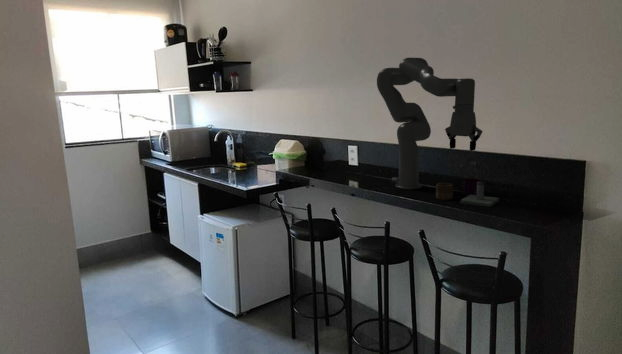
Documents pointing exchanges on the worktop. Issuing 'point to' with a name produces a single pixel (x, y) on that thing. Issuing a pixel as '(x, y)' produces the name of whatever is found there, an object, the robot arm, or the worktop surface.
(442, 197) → the collar
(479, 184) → the post block
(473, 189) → the mug
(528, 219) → the worktop surface
